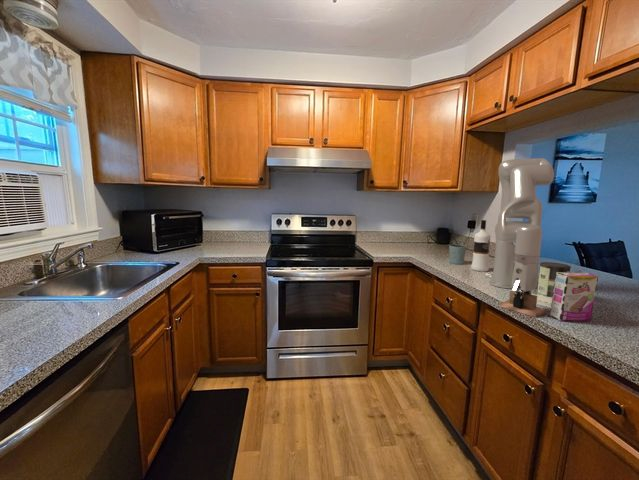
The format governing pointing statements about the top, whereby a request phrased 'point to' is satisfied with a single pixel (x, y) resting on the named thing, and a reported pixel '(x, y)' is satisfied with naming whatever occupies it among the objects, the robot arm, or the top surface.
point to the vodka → (481, 249)
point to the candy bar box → (573, 296)
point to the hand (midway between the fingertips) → (521, 306)
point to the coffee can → (549, 277)
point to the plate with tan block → (528, 306)
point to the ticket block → (543, 300)
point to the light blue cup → (457, 254)
